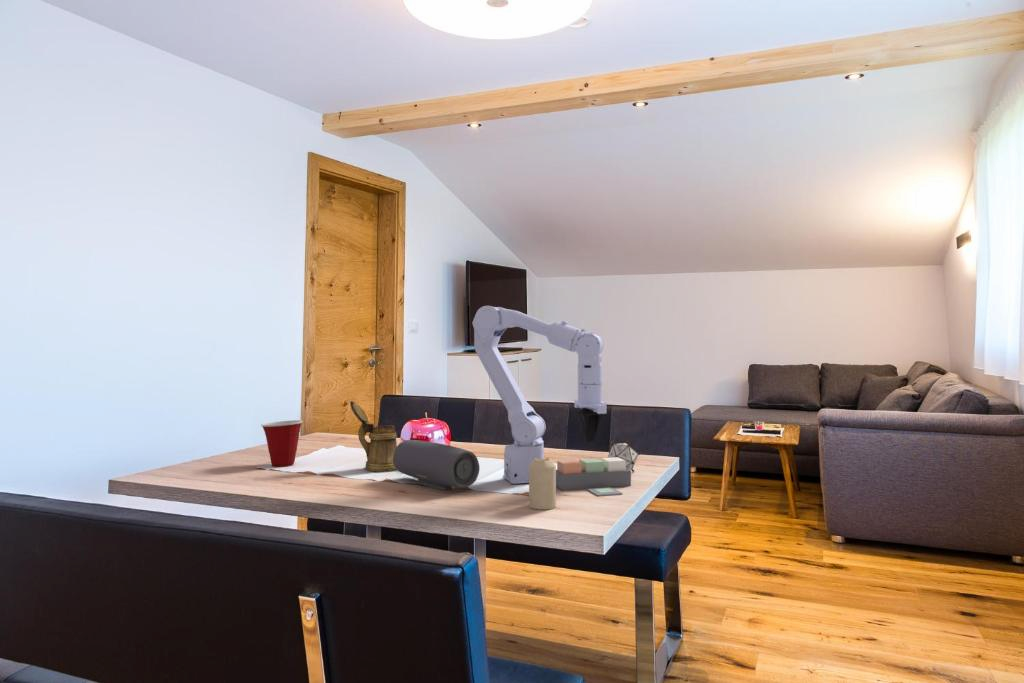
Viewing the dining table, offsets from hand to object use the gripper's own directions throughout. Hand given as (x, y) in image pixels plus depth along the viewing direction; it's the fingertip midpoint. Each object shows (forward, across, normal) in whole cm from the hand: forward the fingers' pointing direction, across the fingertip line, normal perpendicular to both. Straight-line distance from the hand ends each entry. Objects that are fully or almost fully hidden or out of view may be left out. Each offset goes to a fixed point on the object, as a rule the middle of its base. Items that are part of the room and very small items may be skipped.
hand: (589, 440), depth 160 cm
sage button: (+8, -1, 0) cm, 8 cm away
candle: (+10, -16, +18) cm, 26 cm away
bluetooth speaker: (+10, +10, +36) cm, 38 cm away
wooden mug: (+10, +34, +47) cm, 59 cm away
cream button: (+8, -1, -6) cm, 9 cm away
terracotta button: (+7, -1, +6) cm, 9 cm away
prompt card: (+10, -9, 0) cm, 13 cm away
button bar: (+10, -1, 0) cm, 10 cm away
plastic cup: (+10, +46, +71) cm, 85 cm away
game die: (+10, +10, -14) cm, 20 cm away
